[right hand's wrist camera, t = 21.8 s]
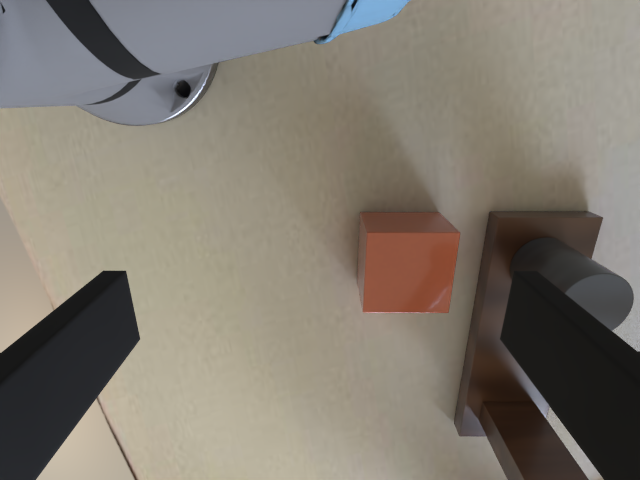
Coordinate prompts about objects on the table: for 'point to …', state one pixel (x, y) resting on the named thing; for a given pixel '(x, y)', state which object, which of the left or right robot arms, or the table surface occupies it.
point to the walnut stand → (494, 358)
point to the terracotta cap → (406, 262)
